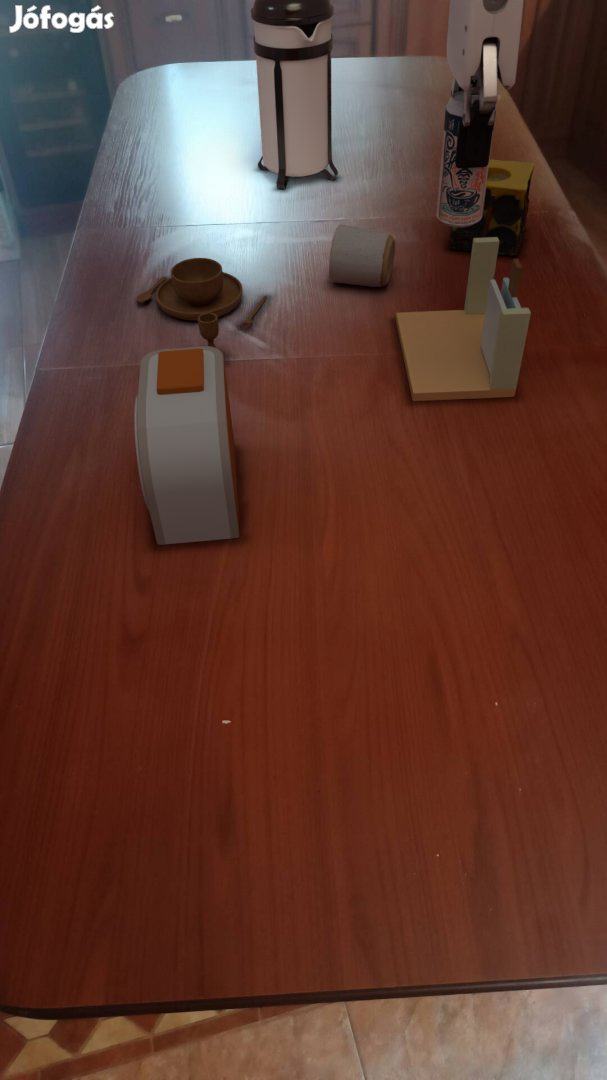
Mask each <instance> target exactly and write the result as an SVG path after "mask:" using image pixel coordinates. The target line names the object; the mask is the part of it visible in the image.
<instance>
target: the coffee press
mask: <svg viewBox="0 0 607 1080" xmlns="http://www.w3.org/2000/svg"><path fill="white" fill-rule="evenodd" d="M334 13H335V12H334V5H333V4H331V1H330V0H254V2H253V7H251V9H250V18H251V20H252V22H253V30H254V31H253V32H254V36H253V39H252V40H253V52H254V54H255V59H256V60H255V62H256V63H255V65H256V78H257V79H256V80H257V92H258V93H257V95H258V110H259V124H260V138H261V154H262V155H261V157H260V159H259V160H258V162H257V167H258V169H259V170H260V171H265V170H266V169H267V170H268V171H269V172H272V173H273V174H276V175H277V179H276V189H280V190H281V189H282V190H286V189H287V187H288V184H289V180H290V178H291V177H293V178H294V177H305V176H306V177H307V176H312V175H315V174H318V173H323V174H324V175H325V177H326V178H327V179H329V180H330V181H333V180H335V179H336V178H337V177H338V176H339V171H338V169H337V168H336V166H335V164H334V162H333V152H332V151H333V147H332V140H333V139H332V135H333V133H332V130H333V129H332V51H333V48H334V47H333V43H334V41H333V37H334V35H333V33H332V18H333V16H334ZM262 162H263V163H262ZM328 166H329V169H330V170H331V171H332V173H333V174H334V175H332V174H331V173H330V171H329V170H328V169H327V167H328Z"/></svg>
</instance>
